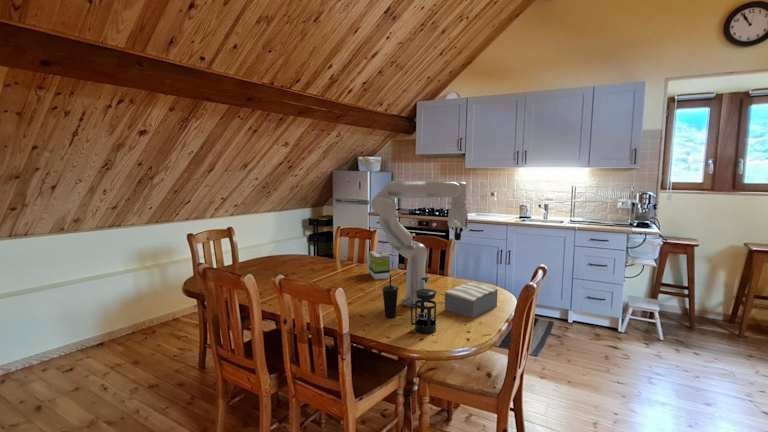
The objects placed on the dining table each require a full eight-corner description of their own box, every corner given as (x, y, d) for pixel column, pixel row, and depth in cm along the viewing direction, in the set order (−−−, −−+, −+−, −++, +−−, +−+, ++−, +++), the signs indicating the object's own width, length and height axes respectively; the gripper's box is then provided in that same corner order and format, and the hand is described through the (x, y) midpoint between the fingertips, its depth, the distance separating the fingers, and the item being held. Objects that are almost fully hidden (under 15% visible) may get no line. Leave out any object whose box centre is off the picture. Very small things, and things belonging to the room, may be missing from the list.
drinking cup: (388, 312, 197) (389, 271, 195) (401, 316, 193) (401, 274, 190) (378, 316, 192) (378, 275, 189) (391, 320, 187) (391, 278, 184)
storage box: (473, 318, 190) (473, 301, 189) (444, 309, 201) (445, 293, 200) (496, 306, 206) (497, 290, 204) (469, 298, 217) (469, 284, 215)
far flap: (486, 294, 197) (486, 293, 197) (458, 287, 208) (458, 286, 208) (497, 290, 204) (497, 289, 204) (469, 284, 215) (469, 282, 215)
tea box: (368, 273, 266) (368, 251, 264) (383, 272, 269) (383, 250, 267) (374, 279, 251) (374, 256, 249) (390, 278, 254) (390, 255, 252)
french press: (433, 324, 183) (434, 274, 180) (441, 332, 174) (442, 280, 171) (407, 326, 180) (408, 275, 177) (414, 335, 171) (415, 282, 168)
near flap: (473, 301, 189) (473, 299, 189) (445, 293, 200) (445, 292, 200) (485, 294, 196) (485, 293, 196) (457, 287, 207) (457, 286, 207)
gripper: (442, 204, 217) (441, 239, 219) (466, 207, 206) (465, 243, 209) (451, 203, 222) (450, 237, 224) (474, 205, 211) (473, 241, 214)
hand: (457, 239), depth 217 cm, fingers closed
